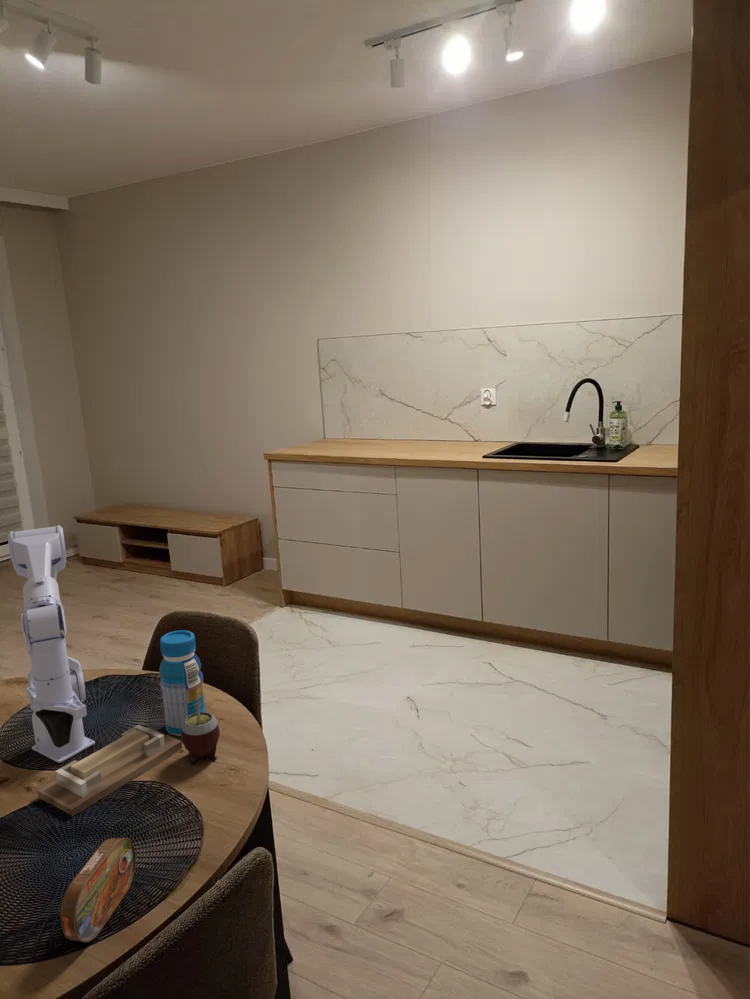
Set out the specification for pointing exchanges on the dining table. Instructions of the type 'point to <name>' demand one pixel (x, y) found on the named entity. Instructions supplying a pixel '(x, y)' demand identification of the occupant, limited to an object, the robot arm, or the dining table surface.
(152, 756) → the endcap rail
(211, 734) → the mate gourd
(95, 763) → the slat
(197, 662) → the beverage bottle
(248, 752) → the dining table surface
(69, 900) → the tin
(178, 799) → the dining table surface
